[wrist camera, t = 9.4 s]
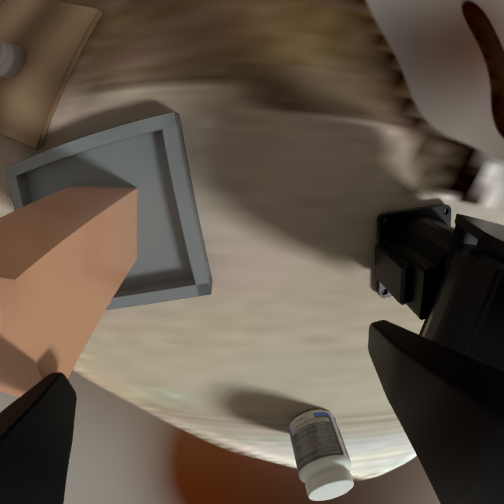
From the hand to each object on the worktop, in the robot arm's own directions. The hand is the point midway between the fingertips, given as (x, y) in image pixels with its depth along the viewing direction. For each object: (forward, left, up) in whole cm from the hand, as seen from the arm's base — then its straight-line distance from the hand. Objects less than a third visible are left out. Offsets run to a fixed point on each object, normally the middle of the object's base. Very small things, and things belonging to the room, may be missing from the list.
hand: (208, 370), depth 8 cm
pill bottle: (-5, +21, -13) cm, 25 cm away
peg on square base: (+12, -15, -13) cm, 23 cm away
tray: (+7, -2, -13) cm, 15 cm away
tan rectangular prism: (+7, -2, -12) cm, 14 cm away
